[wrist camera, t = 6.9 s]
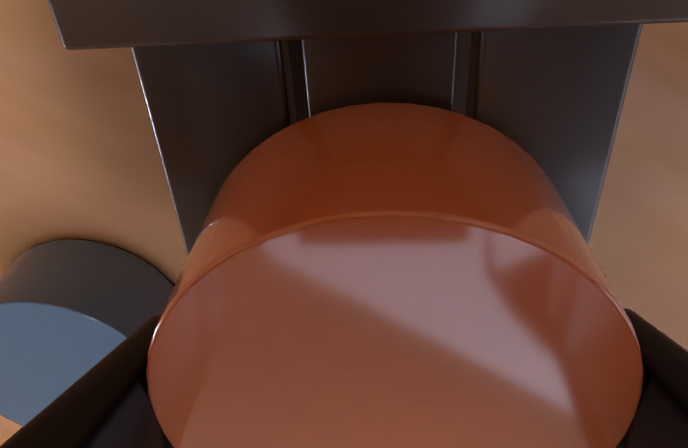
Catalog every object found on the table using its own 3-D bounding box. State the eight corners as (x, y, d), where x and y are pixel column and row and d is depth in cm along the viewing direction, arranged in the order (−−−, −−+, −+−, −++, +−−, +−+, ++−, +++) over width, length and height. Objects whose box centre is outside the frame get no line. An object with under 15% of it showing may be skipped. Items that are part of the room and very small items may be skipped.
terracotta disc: (607, 92, 8) (720, 204, 5) (540, 389, 11) (588, 541, 9) (165, 108, 8) (74, 220, 6) (237, 390, 12) (200, 534, 9)
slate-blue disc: (165, 236, 17) (131, 300, 15) (205, 371, 21) (183, 441, 18) (-27, 240, 18) (-92, 304, 15) (45, 372, 21) (2, 441, 19)
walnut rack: (559, -99, 12) (747, -54, 6) (481, 435, 22) (521, 637, 17) (195, -78, 12) (38, -17, 6) (289, 434, 23) (262, 631, 17)
